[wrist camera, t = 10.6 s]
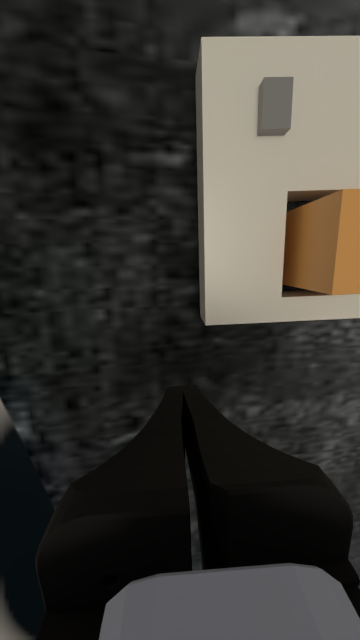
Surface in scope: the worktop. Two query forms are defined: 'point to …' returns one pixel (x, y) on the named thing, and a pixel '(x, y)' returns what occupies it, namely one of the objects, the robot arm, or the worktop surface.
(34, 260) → the worktop surface
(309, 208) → the plug
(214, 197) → the socket
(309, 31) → the worktop surface
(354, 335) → the worktop surface
